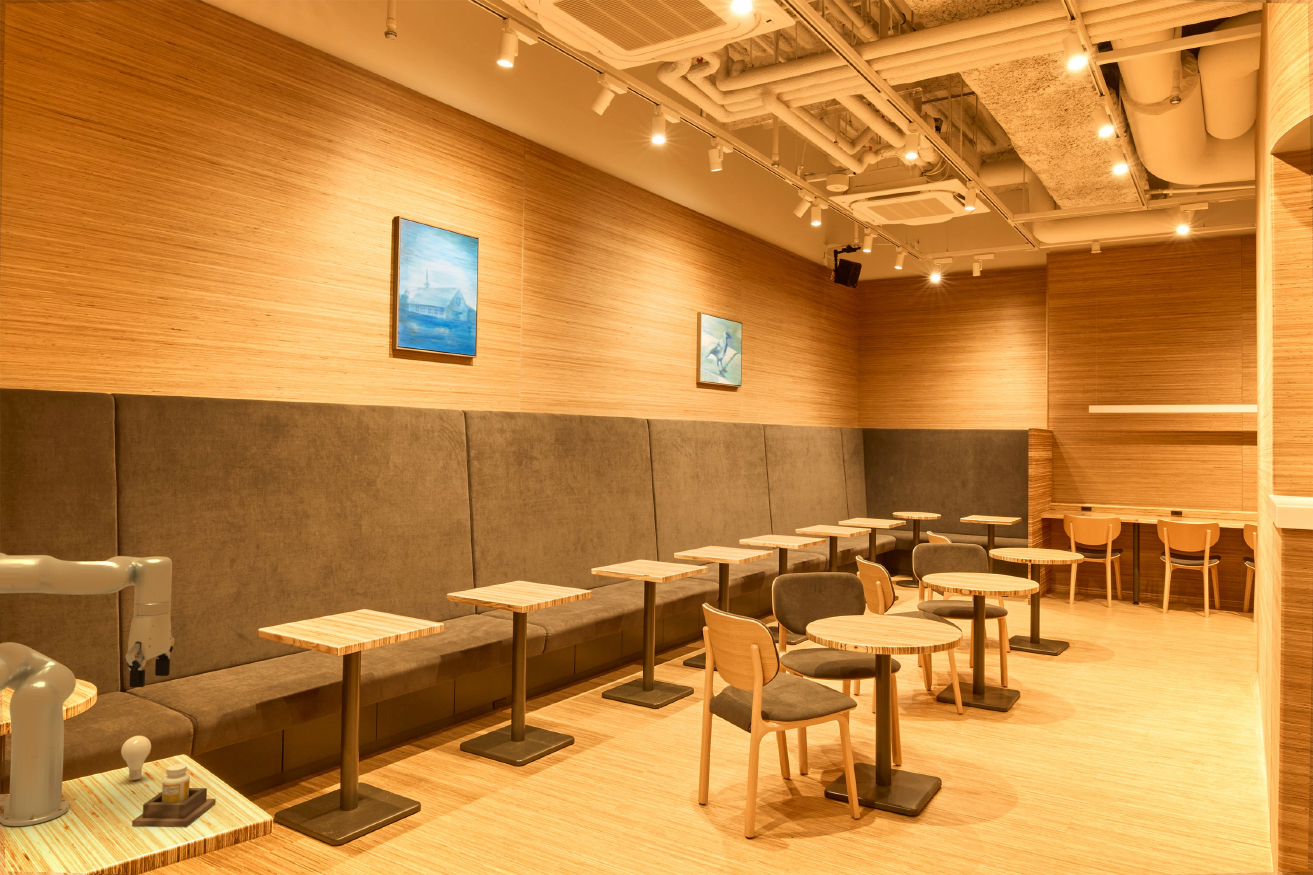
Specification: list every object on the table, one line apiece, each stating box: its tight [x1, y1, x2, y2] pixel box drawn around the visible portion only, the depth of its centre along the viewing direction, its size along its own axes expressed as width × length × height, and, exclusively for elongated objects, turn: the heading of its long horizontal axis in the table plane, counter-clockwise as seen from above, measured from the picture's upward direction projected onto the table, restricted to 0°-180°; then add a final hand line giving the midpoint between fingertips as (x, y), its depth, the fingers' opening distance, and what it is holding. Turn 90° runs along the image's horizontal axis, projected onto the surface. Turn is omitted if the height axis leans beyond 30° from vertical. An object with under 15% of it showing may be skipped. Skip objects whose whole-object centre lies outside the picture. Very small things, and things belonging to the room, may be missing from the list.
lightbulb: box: [120, 735, 152, 782], centre depth 204 cm, size 6×6×11 cm
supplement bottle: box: [161, 763, 191, 803], centre depth 185 cm, size 5×5×10 cm
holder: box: [131, 787, 217, 828], centre depth 185 cm, size 12×12×4 cm
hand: (149, 680), depth 193 cm, fingers open, 9 cm apart
